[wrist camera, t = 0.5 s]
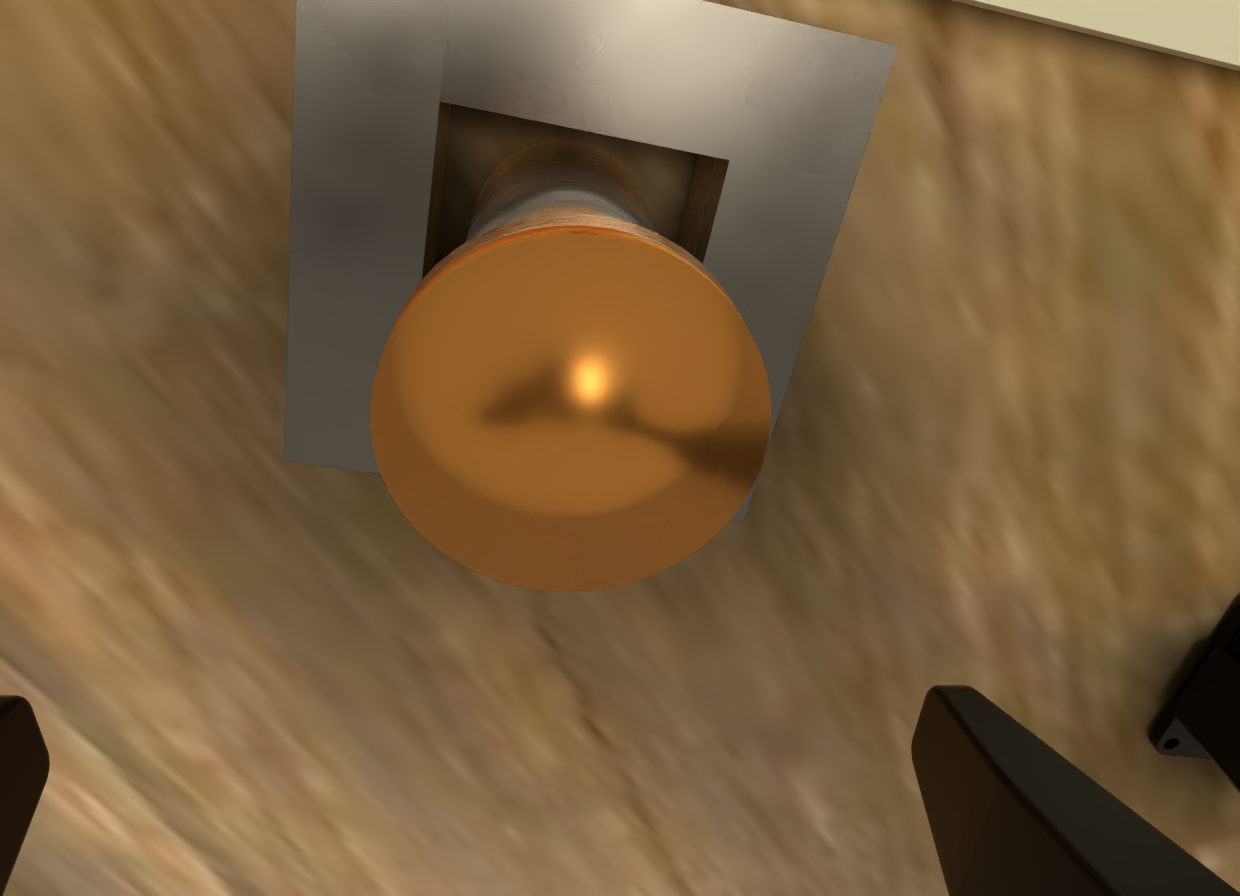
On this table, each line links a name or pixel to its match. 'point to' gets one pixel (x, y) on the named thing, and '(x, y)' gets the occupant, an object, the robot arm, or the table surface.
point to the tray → (1142, 23)
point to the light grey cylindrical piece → (568, 386)
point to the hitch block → (571, 97)
